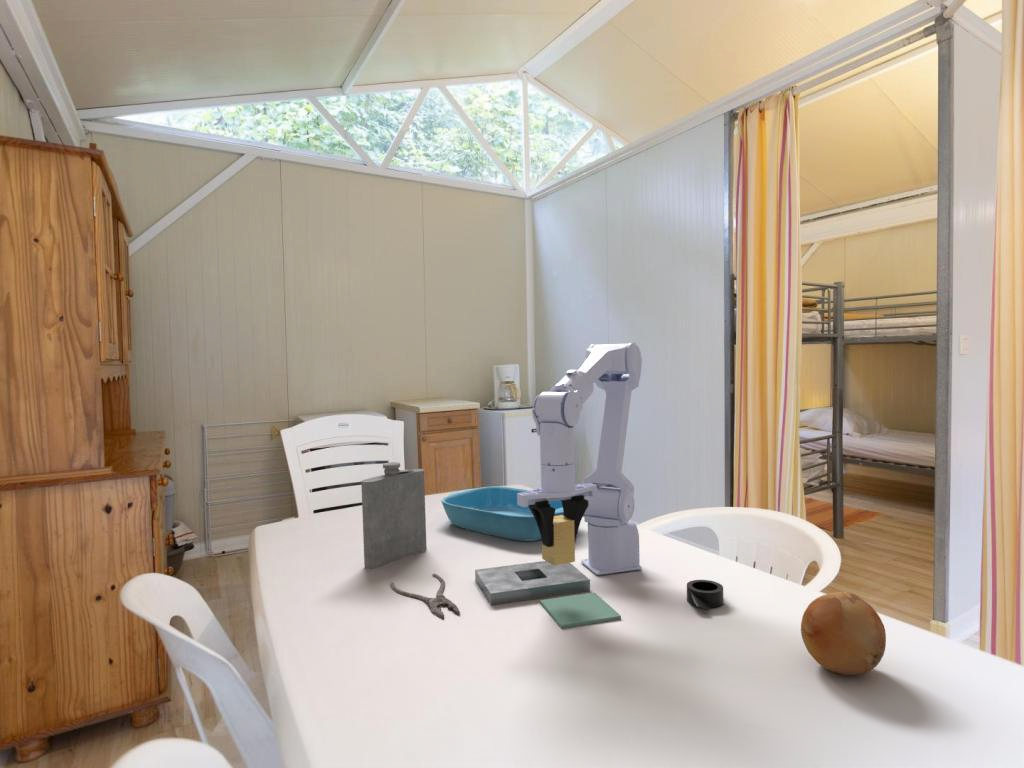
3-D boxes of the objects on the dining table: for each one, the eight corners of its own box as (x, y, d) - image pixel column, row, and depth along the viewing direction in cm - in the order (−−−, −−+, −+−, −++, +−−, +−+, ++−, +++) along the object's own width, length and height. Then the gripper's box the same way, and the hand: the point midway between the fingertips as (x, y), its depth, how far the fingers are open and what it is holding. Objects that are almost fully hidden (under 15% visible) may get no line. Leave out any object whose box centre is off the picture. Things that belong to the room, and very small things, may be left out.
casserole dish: (425, 524, 152) (424, 496, 152) (486, 506, 169) (485, 481, 168) (538, 553, 127) (537, 520, 127) (597, 529, 144) (596, 499, 144)
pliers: (430, 570, 117) (492, 600, 101) (430, 574, 117) (492, 605, 101) (384, 583, 111) (444, 617, 95) (385, 587, 111) (444, 622, 95)
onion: (825, 644, 84) (825, 574, 84) (902, 674, 76) (902, 597, 75) (784, 664, 79) (784, 590, 79) (862, 699, 71) (862, 616, 70)
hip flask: (371, 570, 119) (367, 470, 118) (358, 566, 122) (354, 468, 121) (429, 548, 132) (426, 458, 131) (417, 545, 134) (414, 456, 133)
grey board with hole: (565, 568, 117) (565, 558, 117) (590, 590, 105) (589, 579, 105) (475, 580, 112) (474, 569, 112) (491, 605, 100) (490, 593, 100)
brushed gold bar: (562, 554, 104) (561, 514, 104) (575, 561, 100) (574, 520, 100) (542, 558, 102) (541, 518, 102) (554, 565, 99) (553, 523, 98)
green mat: (594, 595, 104) (594, 592, 104) (621, 618, 94) (620, 615, 94) (539, 603, 101) (539, 600, 101) (561, 628, 91) (561, 625, 91)
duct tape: (666, 603, 100) (666, 586, 100) (704, 589, 106) (704, 572, 106) (705, 619, 94) (704, 601, 94) (743, 603, 99) (743, 585, 99)
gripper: (580, 455, 107) (582, 530, 108) (508, 463, 101) (510, 543, 101) (603, 461, 101) (605, 541, 101) (528, 470, 94) (530, 555, 95)
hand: (559, 543), depth 101 cm, fingers closed on brushed gold bar, 4 cm apart
